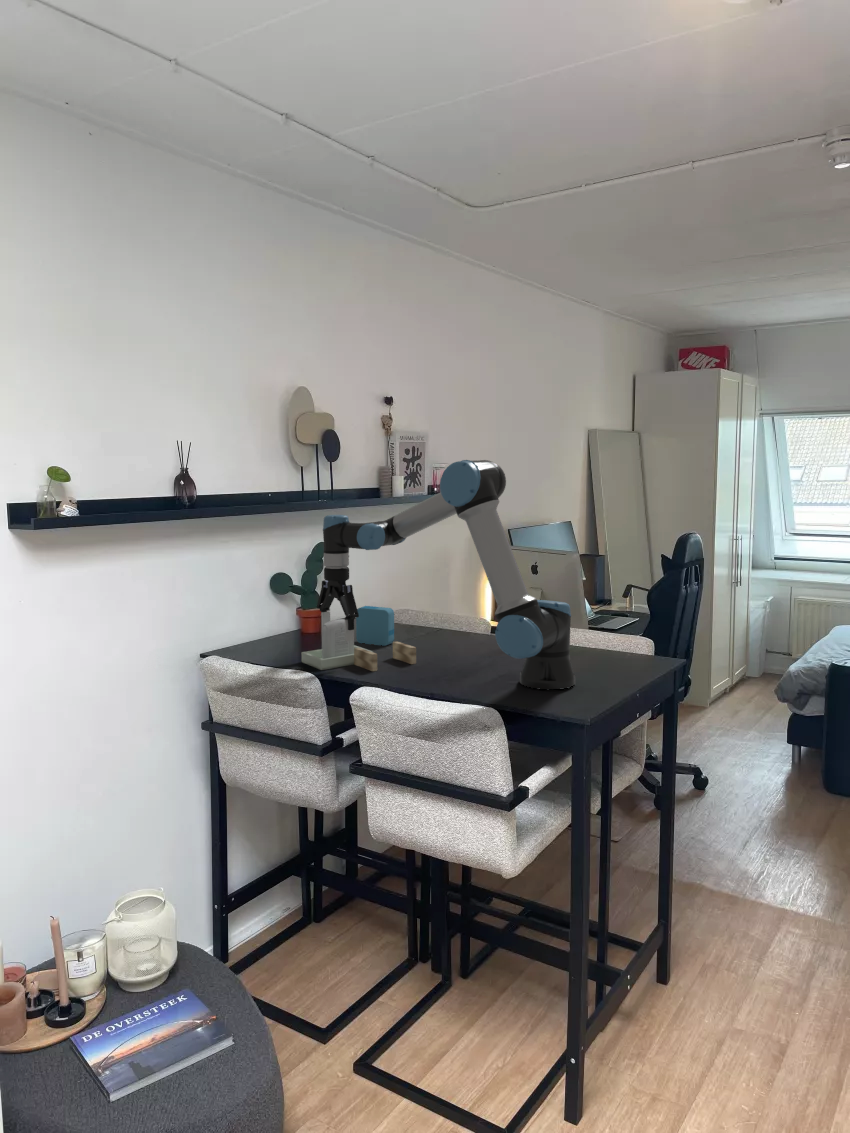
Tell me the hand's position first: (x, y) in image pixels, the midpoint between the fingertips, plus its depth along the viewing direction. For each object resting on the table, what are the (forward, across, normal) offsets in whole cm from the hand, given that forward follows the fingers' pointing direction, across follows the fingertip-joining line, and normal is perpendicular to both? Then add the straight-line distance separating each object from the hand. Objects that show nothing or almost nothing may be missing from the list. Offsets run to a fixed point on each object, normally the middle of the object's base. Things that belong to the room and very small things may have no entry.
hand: (337, 636), depth 256 cm
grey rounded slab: (+7, 0, 0) cm, 7 cm away
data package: (+8, +14, -23) cm, 28 cm away
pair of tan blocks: (+8, -11, -10) cm, 17 cm away
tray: (+8, 0, 0) cm, 8 cm away
